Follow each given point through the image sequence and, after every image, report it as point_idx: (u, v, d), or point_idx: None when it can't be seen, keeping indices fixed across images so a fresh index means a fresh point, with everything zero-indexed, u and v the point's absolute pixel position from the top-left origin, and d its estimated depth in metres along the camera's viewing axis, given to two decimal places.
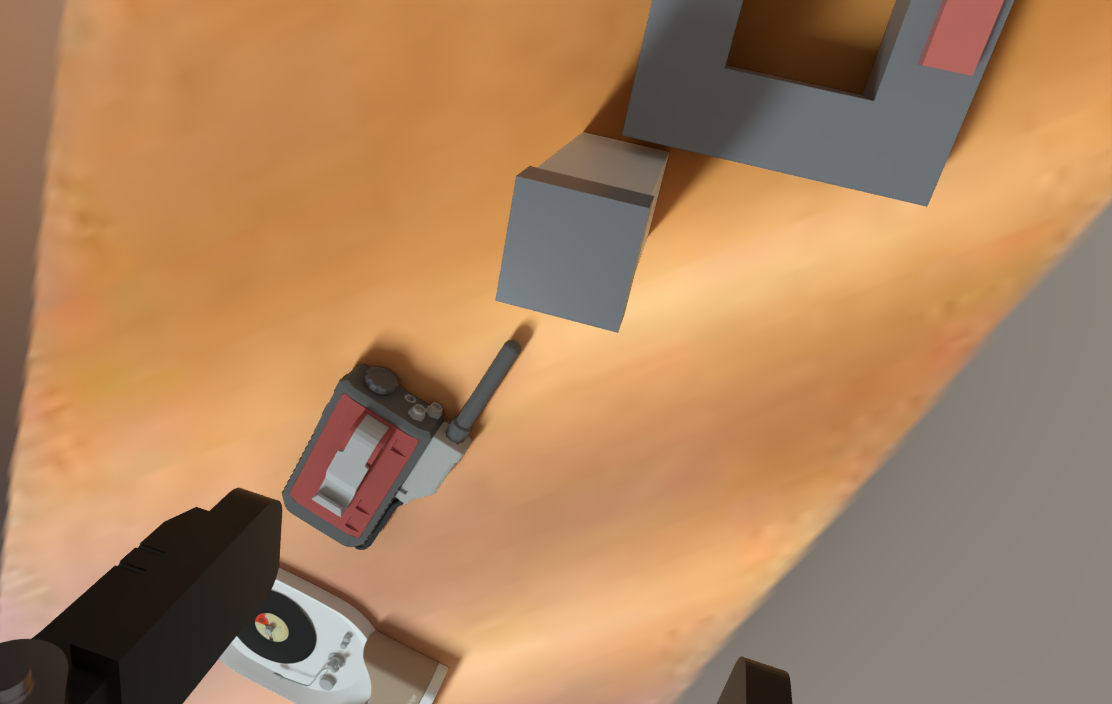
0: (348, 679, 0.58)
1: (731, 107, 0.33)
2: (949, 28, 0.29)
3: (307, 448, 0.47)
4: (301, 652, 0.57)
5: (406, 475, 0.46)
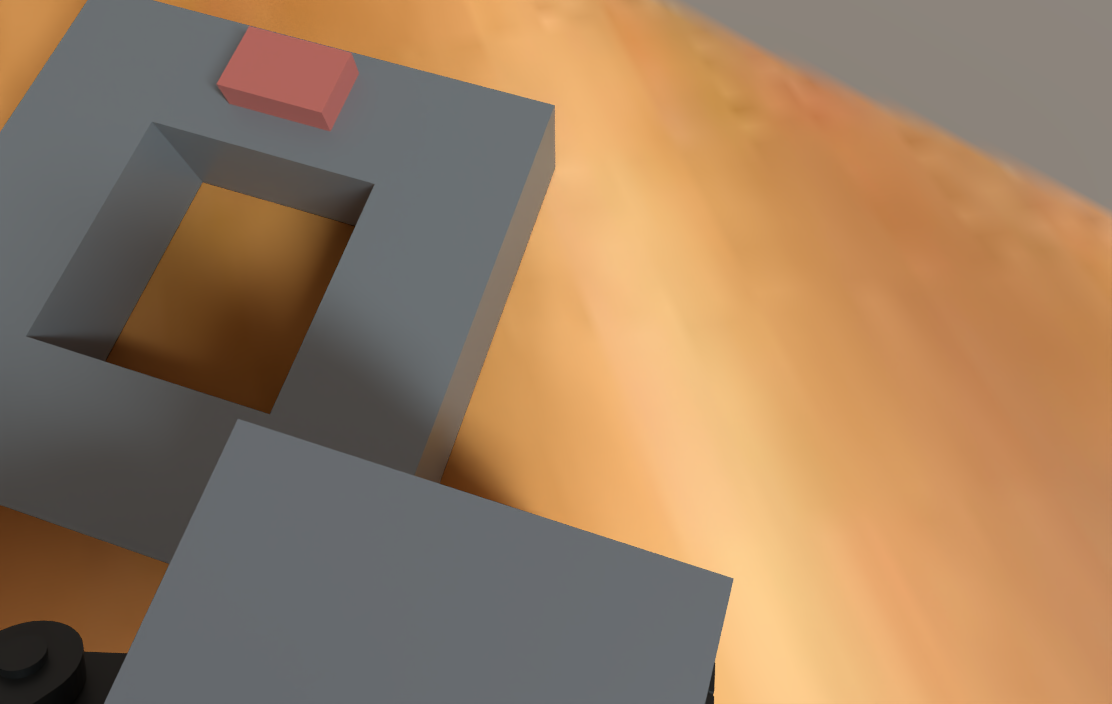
0: None
1: (341, 402, 0.17)
2: (276, 84, 0.19)
3: None
4: None
5: None
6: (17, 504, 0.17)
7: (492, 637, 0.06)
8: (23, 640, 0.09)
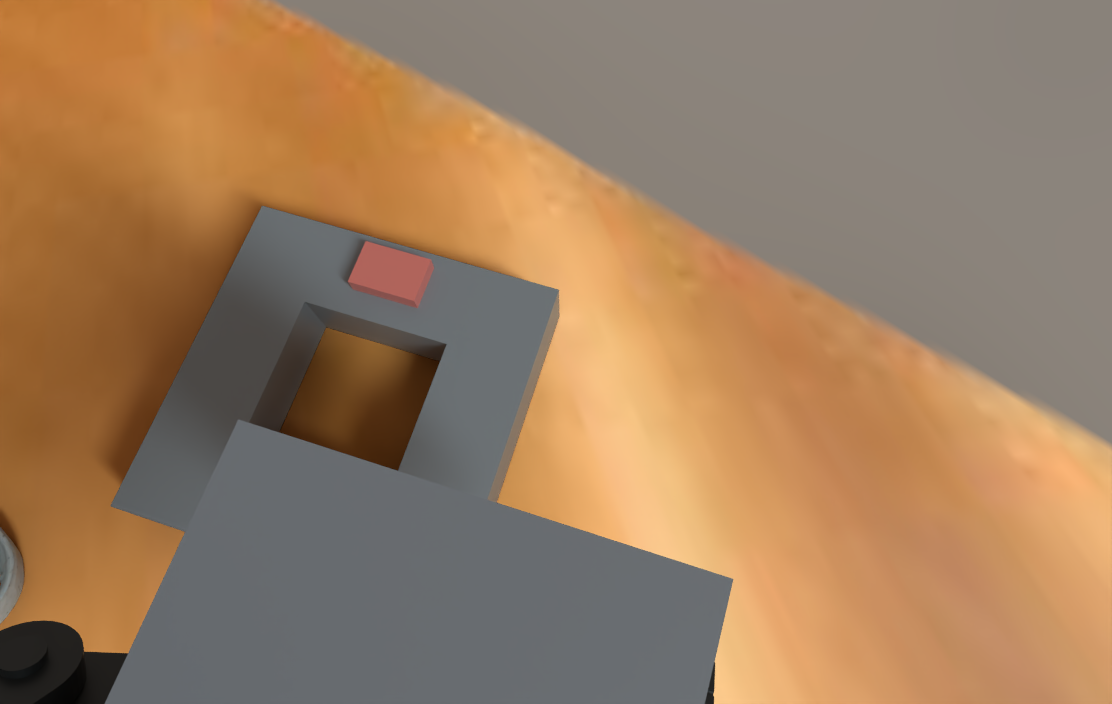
0: None
1: None
2: (385, 281, 0.31)
3: None
4: None
5: None
6: None
7: (492, 637, 0.06)
8: (22, 641, 0.09)
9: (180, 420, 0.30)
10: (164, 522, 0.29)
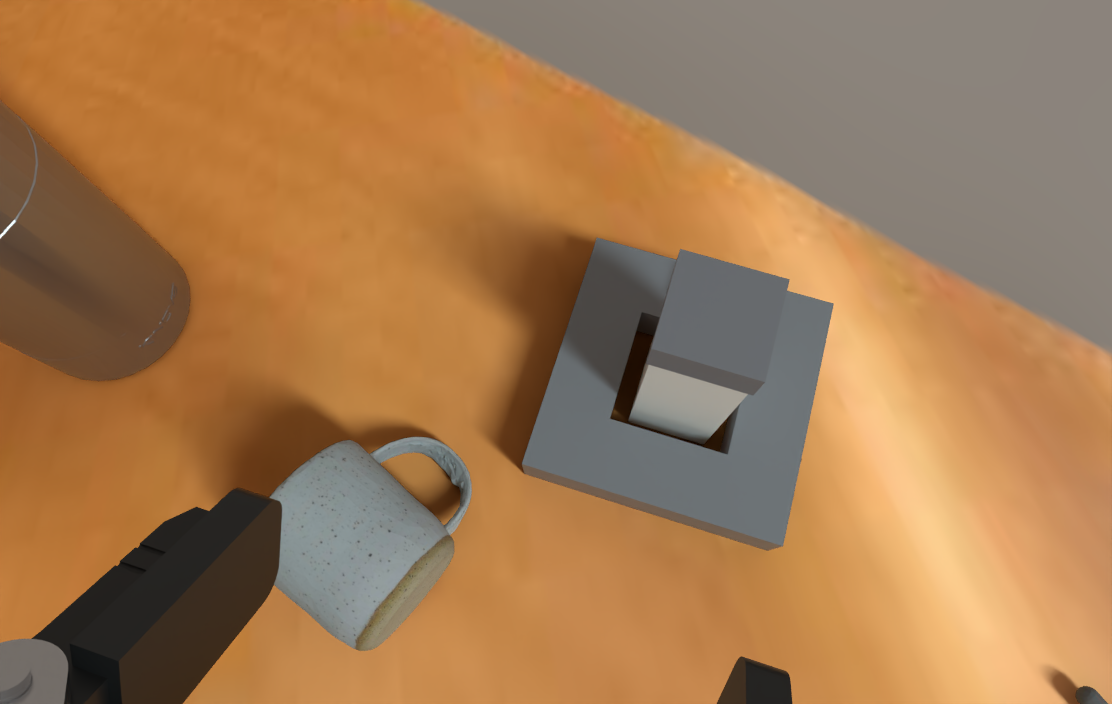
0: None
1: (758, 449, 0.39)
2: None
3: None
4: None
5: None
6: (627, 494, 0.38)
7: (740, 290, 0.31)
8: None
9: (562, 400, 0.40)
10: (564, 475, 0.39)
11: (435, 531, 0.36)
